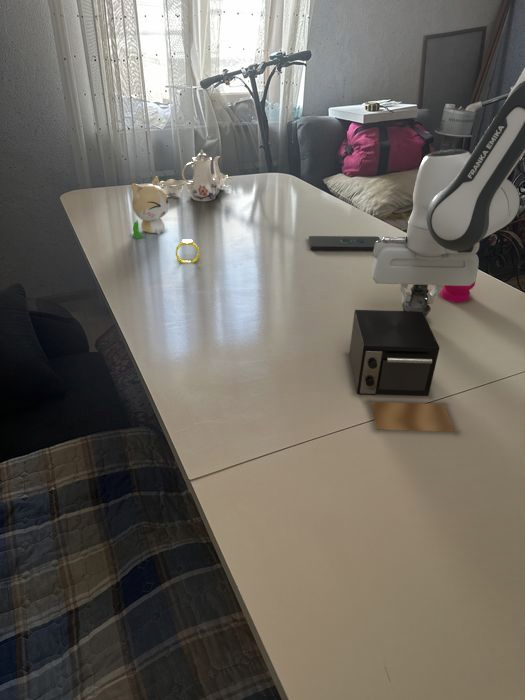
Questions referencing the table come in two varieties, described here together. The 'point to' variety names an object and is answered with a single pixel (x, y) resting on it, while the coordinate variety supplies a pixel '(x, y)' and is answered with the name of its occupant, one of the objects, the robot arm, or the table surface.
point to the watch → (187, 242)
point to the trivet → (411, 416)
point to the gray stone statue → (418, 300)
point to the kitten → (149, 207)
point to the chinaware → (198, 180)
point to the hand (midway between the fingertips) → (417, 302)
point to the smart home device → (342, 243)
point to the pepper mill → (456, 292)
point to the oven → (392, 353)
